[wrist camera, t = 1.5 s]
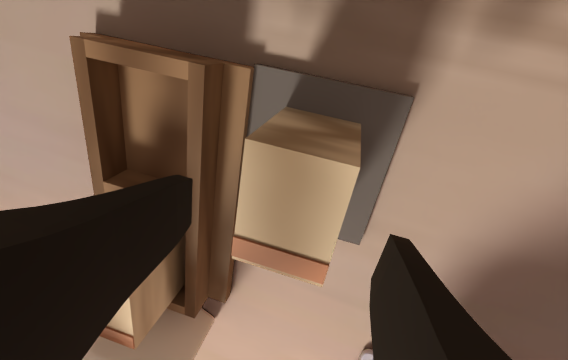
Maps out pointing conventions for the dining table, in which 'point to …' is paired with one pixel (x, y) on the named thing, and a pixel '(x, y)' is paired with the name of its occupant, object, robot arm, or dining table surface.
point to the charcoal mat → (342, 105)
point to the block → (148, 300)
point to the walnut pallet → (169, 141)
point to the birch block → (295, 192)
